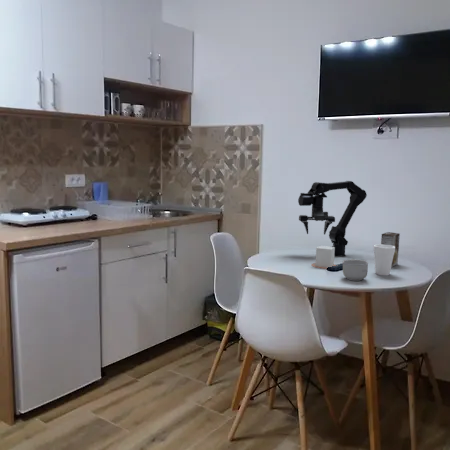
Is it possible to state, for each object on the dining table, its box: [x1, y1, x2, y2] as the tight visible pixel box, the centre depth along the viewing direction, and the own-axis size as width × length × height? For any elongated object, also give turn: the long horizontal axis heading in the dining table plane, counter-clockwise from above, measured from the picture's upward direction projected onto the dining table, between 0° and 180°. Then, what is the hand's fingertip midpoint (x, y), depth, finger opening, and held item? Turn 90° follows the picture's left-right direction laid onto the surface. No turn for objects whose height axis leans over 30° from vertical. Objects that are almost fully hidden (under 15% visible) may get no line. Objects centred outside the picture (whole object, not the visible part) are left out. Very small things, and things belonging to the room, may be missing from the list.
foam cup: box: [373, 243, 395, 276], centre depth 213 cm, size 10×9×13 cm
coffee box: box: [380, 231, 401, 268], centre depth 233 cm, size 9×6×16 cm
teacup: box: [341, 258, 369, 282], centre depth 204 cm, size 14×11×8 cm
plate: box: [310, 262, 337, 270], centre depth 225 cm, size 13×13×1 cm
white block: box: [314, 245, 335, 268], centre depth 225 cm, size 7×7×9 cm
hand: (315, 234), depth 250 cm, fingers open, 9 cm apart
